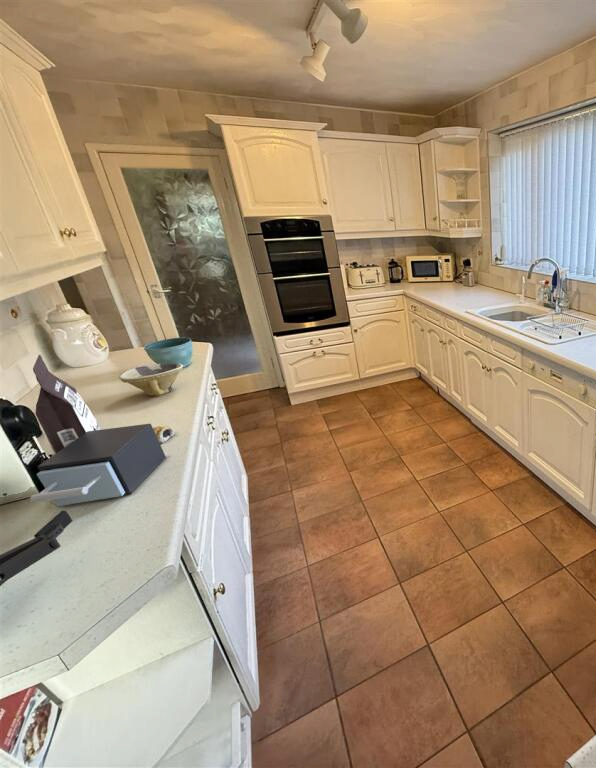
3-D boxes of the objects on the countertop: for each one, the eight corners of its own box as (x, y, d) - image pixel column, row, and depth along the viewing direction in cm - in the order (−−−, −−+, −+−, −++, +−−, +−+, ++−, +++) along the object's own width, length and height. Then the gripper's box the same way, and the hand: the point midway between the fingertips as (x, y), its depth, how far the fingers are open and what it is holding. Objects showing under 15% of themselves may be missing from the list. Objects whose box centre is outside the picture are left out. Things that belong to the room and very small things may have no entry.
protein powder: (108, 460, 107) (58, 364, 96) (62, 474, 102) (3, 374, 90) (107, 438, 118) (62, 349, 107) (65, 449, 113) (13, 358, 101)
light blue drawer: (105, 513, 87) (86, 480, 83) (34, 525, 84) (12, 491, 80) (156, 461, 105) (143, 432, 101) (100, 469, 102) (84, 439, 98)
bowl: (189, 394, 146) (180, 370, 143) (125, 407, 137) (113, 382, 133) (192, 379, 160) (183, 357, 156) (134, 390, 151) (123, 367, 147)
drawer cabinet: (131, 494, 94) (111, 456, 89) (61, 505, 91) (36, 466, 86) (166, 457, 108) (150, 423, 103) (106, 466, 105) (87, 431, 100)
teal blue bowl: (196, 368, 171) (188, 344, 167) (149, 376, 164) (138, 351, 160) (201, 357, 184) (193, 335, 180) (157, 364, 177) (148, 341, 173)
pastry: (129, 445, 114) (123, 434, 112) (148, 433, 120) (143, 423, 119) (162, 444, 114) (157, 433, 112) (179, 432, 120) (175, 421, 119)
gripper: (-8, 587, 58) (93, 495, 77) (-243, 631, 52) (-73, 520, 71) (20, 621, 61) (110, 524, 80) (-200, 666, 55) (-48, 551, 74)
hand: (24, 522), depth 75 cm, fingers open, 13 cm apart
